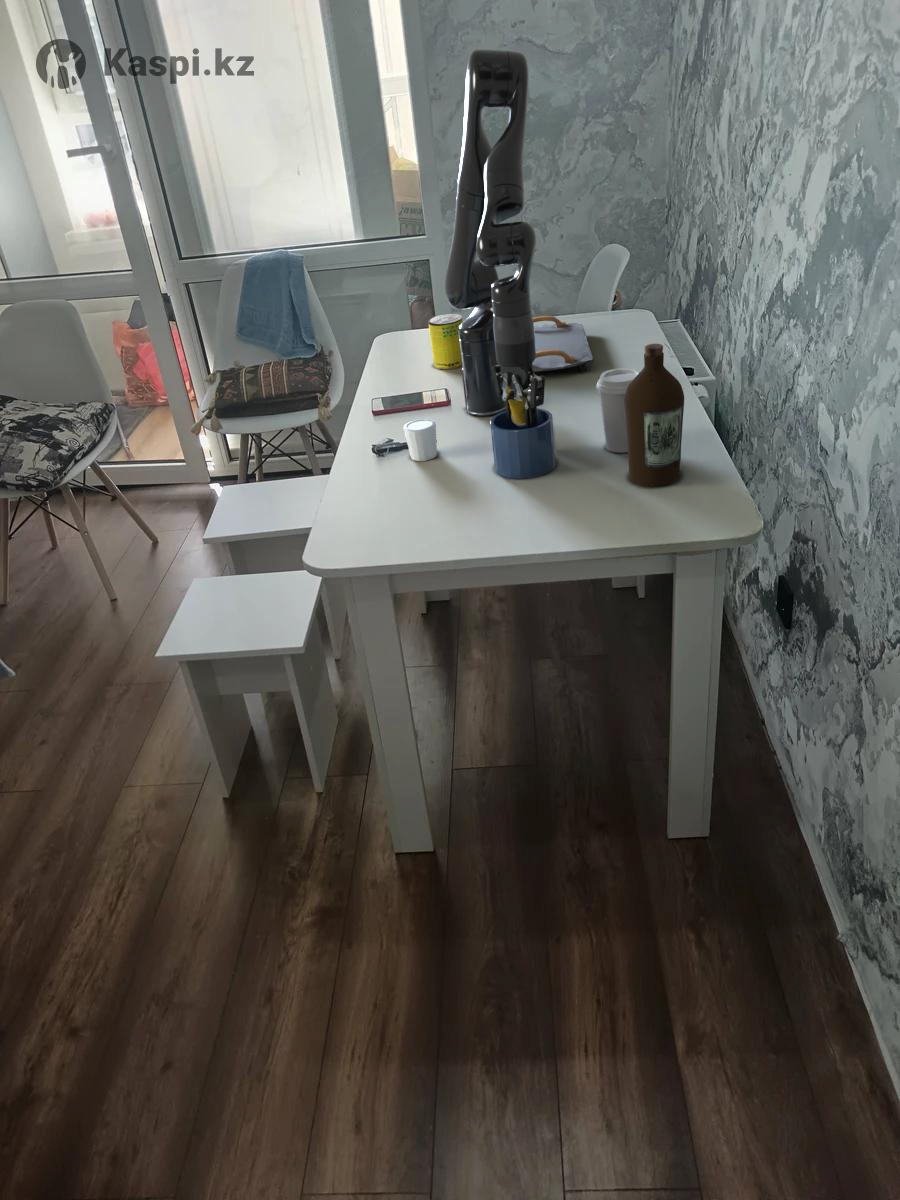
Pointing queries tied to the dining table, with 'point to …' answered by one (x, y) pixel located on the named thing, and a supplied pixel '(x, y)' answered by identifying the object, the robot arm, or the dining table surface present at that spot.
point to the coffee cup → (615, 406)
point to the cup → (523, 446)
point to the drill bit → (518, 412)
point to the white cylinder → (421, 439)
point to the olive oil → (654, 422)
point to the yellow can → (445, 341)
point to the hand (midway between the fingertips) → (521, 421)
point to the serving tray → (560, 345)
